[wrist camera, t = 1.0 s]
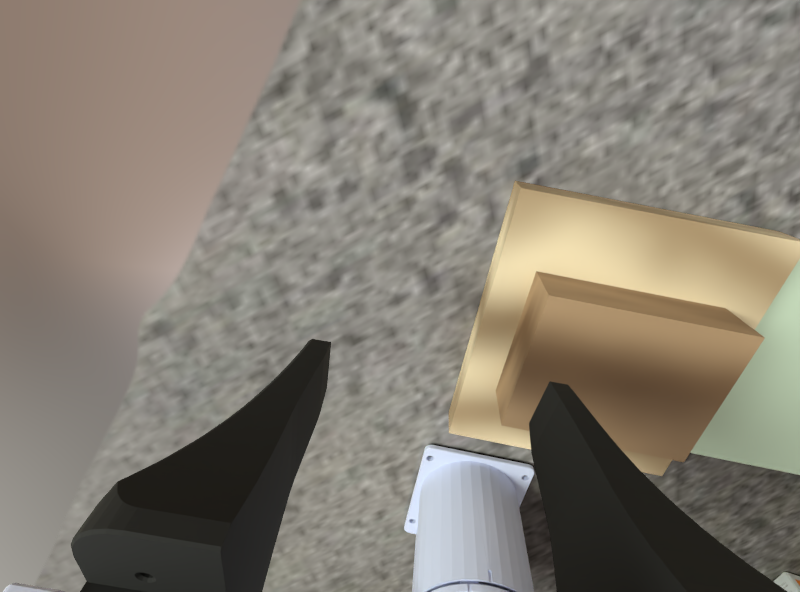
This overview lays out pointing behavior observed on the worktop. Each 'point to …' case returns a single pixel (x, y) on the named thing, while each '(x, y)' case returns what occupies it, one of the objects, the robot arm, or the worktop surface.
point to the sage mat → (764, 395)
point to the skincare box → (788, 582)
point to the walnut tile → (625, 361)
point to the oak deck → (608, 280)
